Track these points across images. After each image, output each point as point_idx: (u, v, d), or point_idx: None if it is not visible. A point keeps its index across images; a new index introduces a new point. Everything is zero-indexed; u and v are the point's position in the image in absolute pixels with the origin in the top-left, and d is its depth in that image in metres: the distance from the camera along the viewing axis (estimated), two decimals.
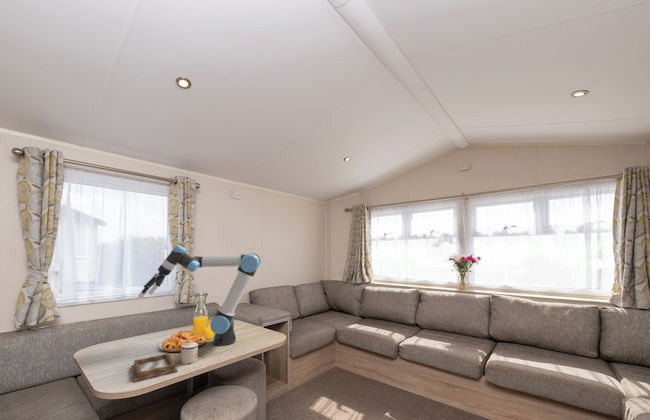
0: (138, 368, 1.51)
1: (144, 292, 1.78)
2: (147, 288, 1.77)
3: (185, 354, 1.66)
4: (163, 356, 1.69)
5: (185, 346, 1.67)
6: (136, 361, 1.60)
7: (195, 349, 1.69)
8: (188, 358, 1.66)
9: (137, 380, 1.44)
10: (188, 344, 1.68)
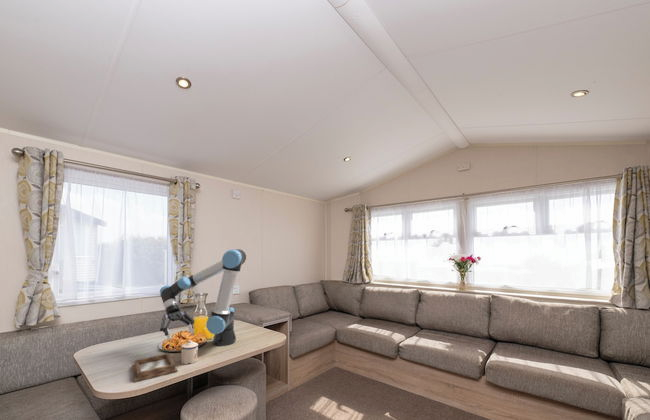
0: (138, 368, 1.51)
1: (166, 333, 1.72)
2: (161, 328, 1.72)
3: (185, 354, 1.66)
4: (163, 356, 1.69)
5: (185, 346, 1.67)
6: (136, 361, 1.60)
7: (195, 349, 1.69)
8: (188, 358, 1.66)
9: (137, 380, 1.44)
10: (188, 344, 1.68)
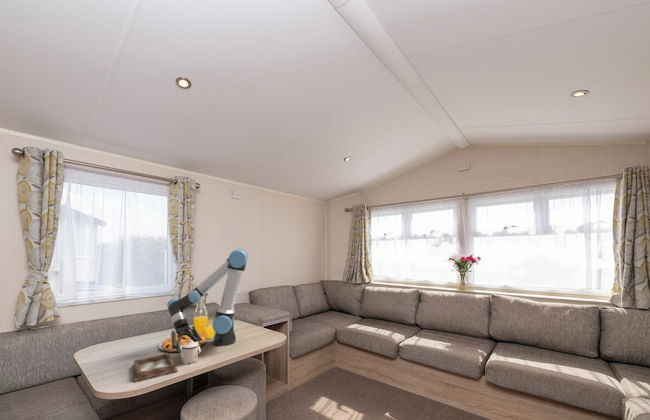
0: (138, 368, 1.51)
1: (179, 350, 1.66)
2: (174, 345, 1.66)
3: (185, 353, 1.66)
4: (163, 356, 1.69)
5: (186, 346, 1.67)
6: (136, 361, 1.60)
7: (196, 349, 1.69)
8: (189, 358, 1.66)
9: (137, 380, 1.44)
10: (189, 344, 1.68)
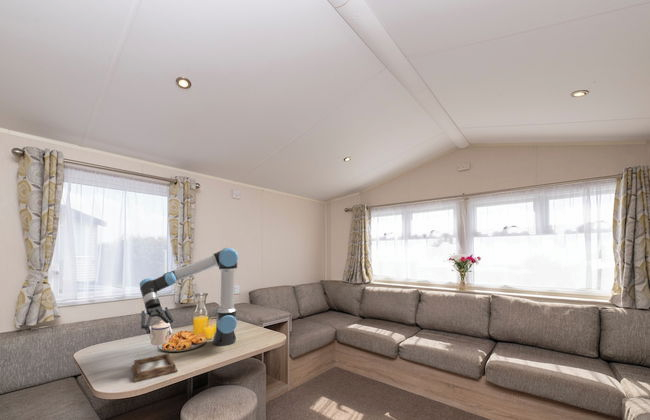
0: (138, 368, 1.51)
1: (148, 331, 1.57)
2: (143, 325, 1.57)
3: (155, 334, 1.57)
4: (163, 356, 1.69)
5: (155, 326, 1.58)
6: (136, 361, 1.60)
7: (166, 330, 1.60)
8: (159, 339, 1.57)
9: (137, 380, 1.44)
10: (159, 324, 1.59)
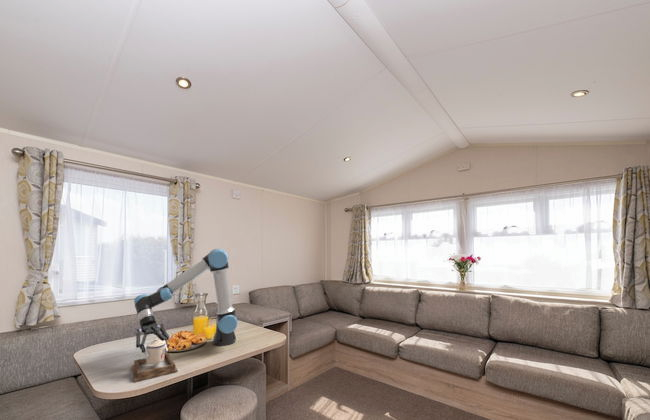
0: (138, 368, 1.51)
1: (143, 350, 1.54)
2: (138, 344, 1.54)
3: (150, 353, 1.54)
4: None
5: (150, 345, 1.55)
6: (136, 361, 1.60)
7: (162, 348, 1.57)
8: (154, 358, 1.54)
9: (137, 380, 1.44)
10: (154, 343, 1.57)
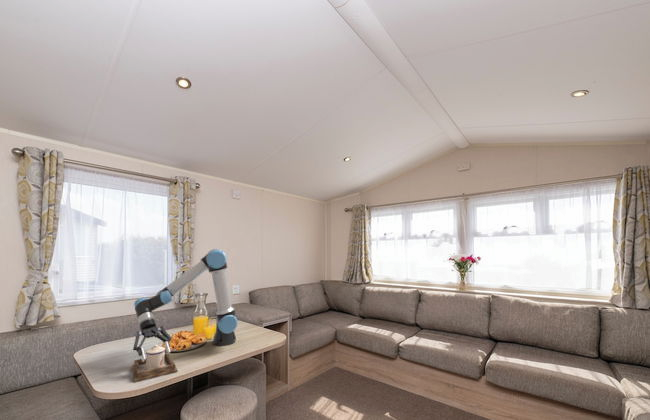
0: (138, 368, 1.51)
1: (140, 352, 1.53)
2: (134, 347, 1.54)
3: (149, 359, 1.54)
4: None
5: (150, 351, 1.55)
6: (136, 361, 1.60)
7: (161, 354, 1.57)
8: (153, 364, 1.54)
9: (137, 380, 1.44)
10: (153, 349, 1.56)
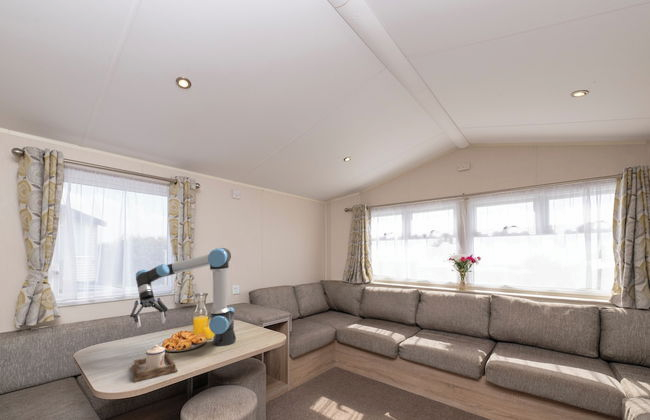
0: (138, 368, 1.51)
1: (136, 320, 1.69)
2: (131, 314, 1.69)
3: (149, 359, 1.54)
4: None
5: (150, 351, 1.55)
6: (136, 361, 1.60)
7: (161, 354, 1.57)
8: (153, 364, 1.54)
9: (137, 380, 1.44)
10: (153, 349, 1.56)
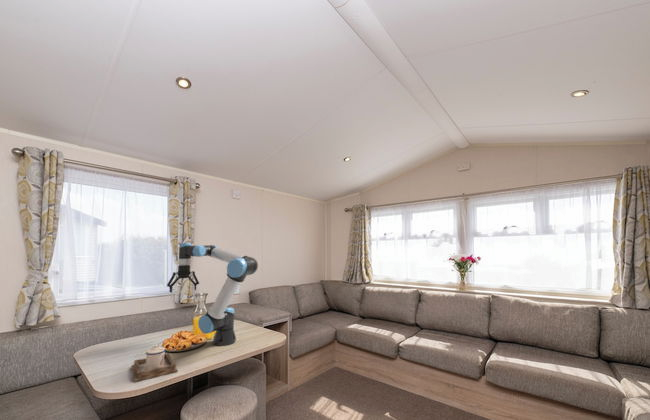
0: (138, 368, 1.51)
1: (170, 291, 1.97)
2: None
3: (149, 359, 1.54)
4: None
5: (150, 351, 1.55)
6: (136, 361, 1.60)
7: (161, 354, 1.57)
8: (153, 364, 1.54)
9: (137, 380, 1.44)
10: (153, 349, 1.56)
